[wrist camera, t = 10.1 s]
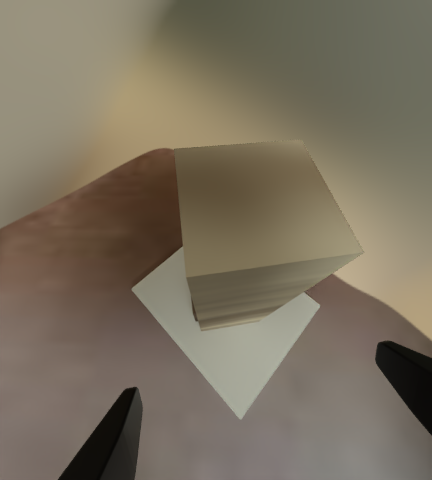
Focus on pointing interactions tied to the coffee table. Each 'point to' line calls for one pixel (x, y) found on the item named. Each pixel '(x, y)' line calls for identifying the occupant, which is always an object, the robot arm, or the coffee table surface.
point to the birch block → (256, 229)
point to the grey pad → (224, 335)
